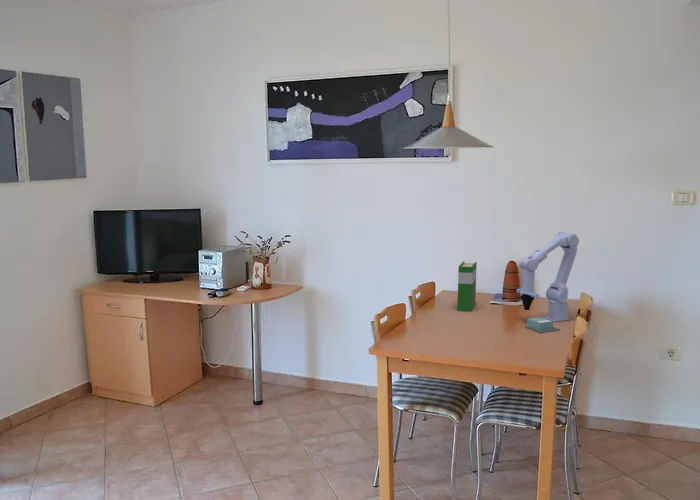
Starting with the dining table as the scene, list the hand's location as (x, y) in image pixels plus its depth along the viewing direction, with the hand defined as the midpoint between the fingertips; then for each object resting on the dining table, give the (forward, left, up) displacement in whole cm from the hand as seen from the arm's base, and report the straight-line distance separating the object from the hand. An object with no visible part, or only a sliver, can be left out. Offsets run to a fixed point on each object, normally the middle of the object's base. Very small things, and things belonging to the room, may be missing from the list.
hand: (526, 309), depth 299 cm
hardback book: (+10, -38, -7) cm, 40 cm away
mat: (0, +12, -7) cm, 14 cm away
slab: (0, +6, -4) cm, 7 cm away
